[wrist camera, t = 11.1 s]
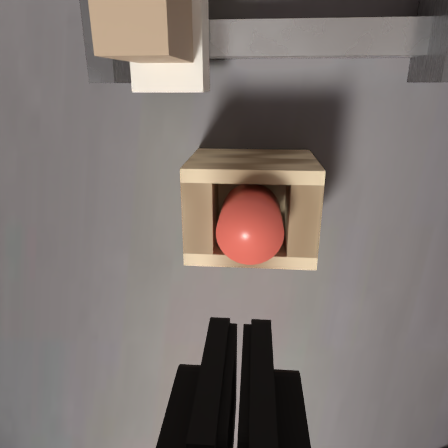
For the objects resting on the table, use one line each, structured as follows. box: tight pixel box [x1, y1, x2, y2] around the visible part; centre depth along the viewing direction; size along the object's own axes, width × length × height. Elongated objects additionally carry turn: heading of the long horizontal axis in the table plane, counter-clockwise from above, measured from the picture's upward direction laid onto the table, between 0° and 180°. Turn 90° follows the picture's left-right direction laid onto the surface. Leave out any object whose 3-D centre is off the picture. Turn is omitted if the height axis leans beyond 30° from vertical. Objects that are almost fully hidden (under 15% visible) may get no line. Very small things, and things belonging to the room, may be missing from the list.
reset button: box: [216, 184, 284, 265], centre depth 22 cm, size 4×4×4 cm
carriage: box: [88, 0, 210, 92], centre depth 19 cm, size 4×6×9 cm, turn 0°
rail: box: [79, 0, 448, 83], centre depth 22 cm, size 21×5×5 cm, turn 90°
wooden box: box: [180, 148, 326, 270], centre depth 25 cm, size 8×6×7 cm
